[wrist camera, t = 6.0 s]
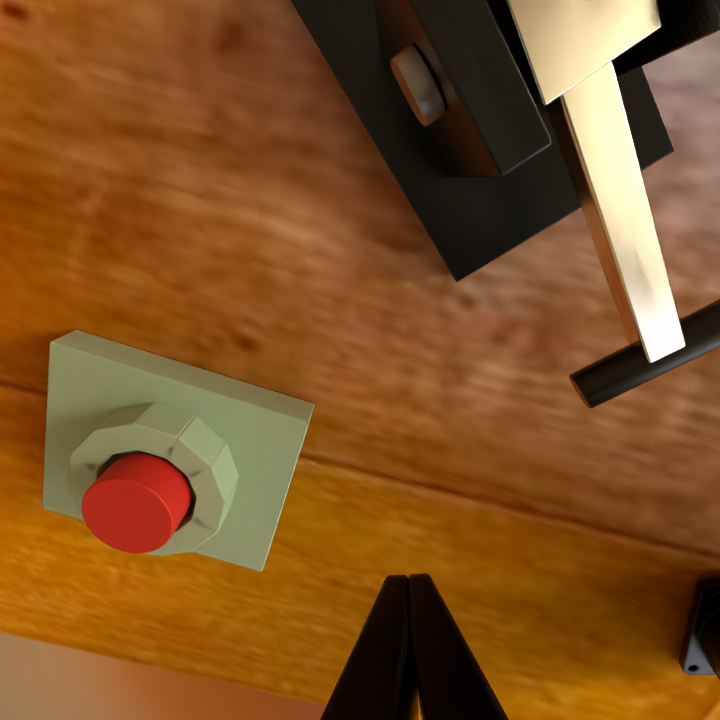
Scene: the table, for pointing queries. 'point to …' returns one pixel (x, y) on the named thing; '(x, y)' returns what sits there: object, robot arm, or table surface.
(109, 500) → the button
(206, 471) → the button box
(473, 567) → the table surface
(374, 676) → the robot arm
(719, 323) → the lever
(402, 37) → the bracket
